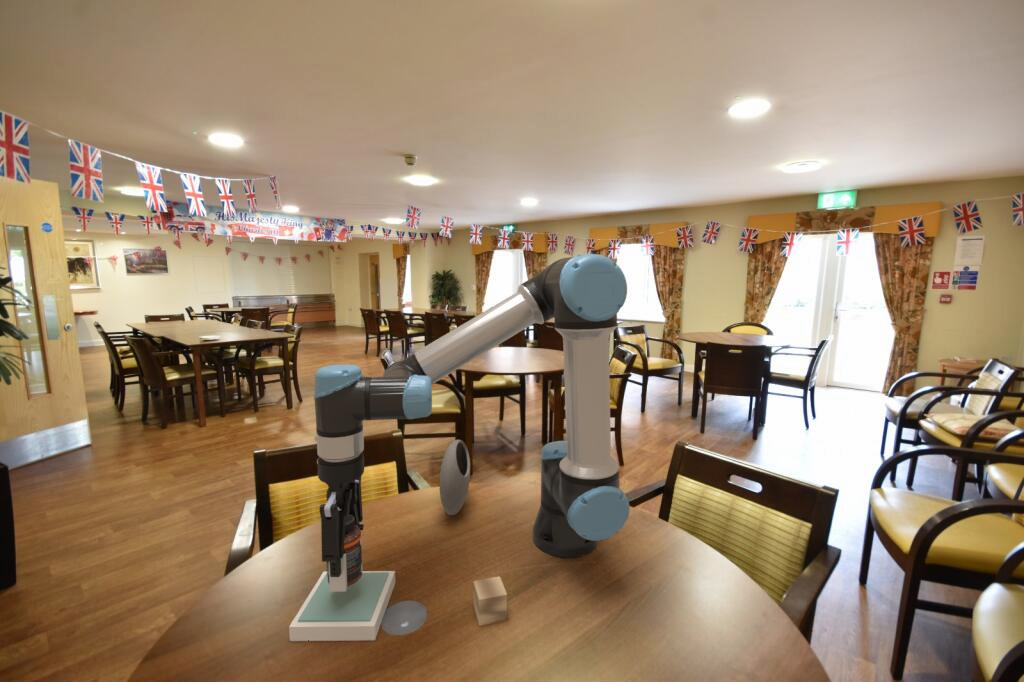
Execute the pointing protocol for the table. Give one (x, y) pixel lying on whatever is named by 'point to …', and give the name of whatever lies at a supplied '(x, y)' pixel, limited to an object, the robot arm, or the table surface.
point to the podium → (344, 609)
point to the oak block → (490, 600)
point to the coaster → (404, 618)
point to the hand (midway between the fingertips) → (345, 576)
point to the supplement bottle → (352, 551)
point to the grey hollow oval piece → (454, 477)
